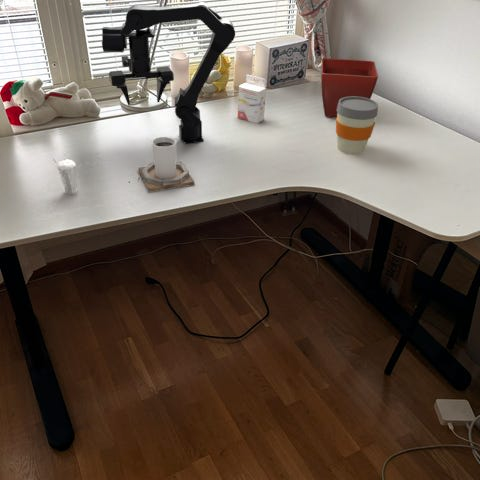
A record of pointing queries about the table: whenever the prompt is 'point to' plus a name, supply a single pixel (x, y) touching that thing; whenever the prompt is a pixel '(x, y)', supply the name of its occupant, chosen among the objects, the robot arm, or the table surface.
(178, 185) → the ring board
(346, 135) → the reusable coffee cup
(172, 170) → the white cup
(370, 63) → the plant pot
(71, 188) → the milkshake
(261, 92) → the ink cartridge box
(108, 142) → the table surface
